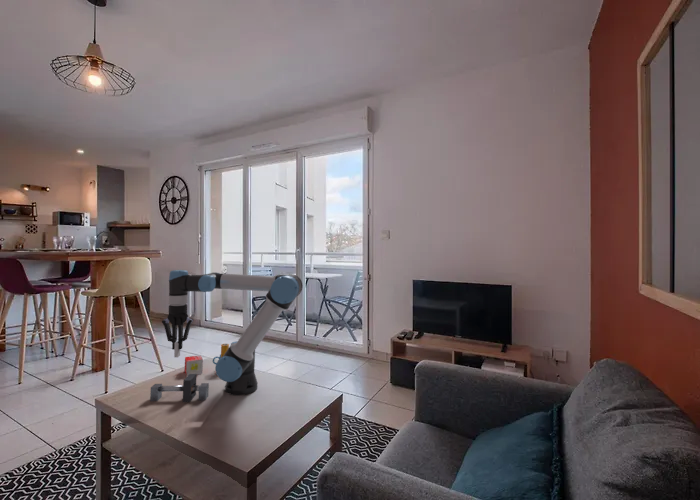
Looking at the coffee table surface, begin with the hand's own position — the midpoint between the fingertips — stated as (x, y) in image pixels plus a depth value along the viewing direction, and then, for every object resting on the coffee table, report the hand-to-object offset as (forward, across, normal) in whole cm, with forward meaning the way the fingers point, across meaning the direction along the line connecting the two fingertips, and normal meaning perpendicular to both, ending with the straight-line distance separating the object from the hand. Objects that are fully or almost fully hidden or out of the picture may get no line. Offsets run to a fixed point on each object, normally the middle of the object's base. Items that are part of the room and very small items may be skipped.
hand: (177, 356), depth 148 cm
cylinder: (+20, -13, -33) cm, 40 cm away
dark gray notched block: (+18, -6, +3) cm, 19 cm away
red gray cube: (+20, +3, -32) cm, 38 cm away
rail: (+19, -2, +3) cm, 20 cm away
